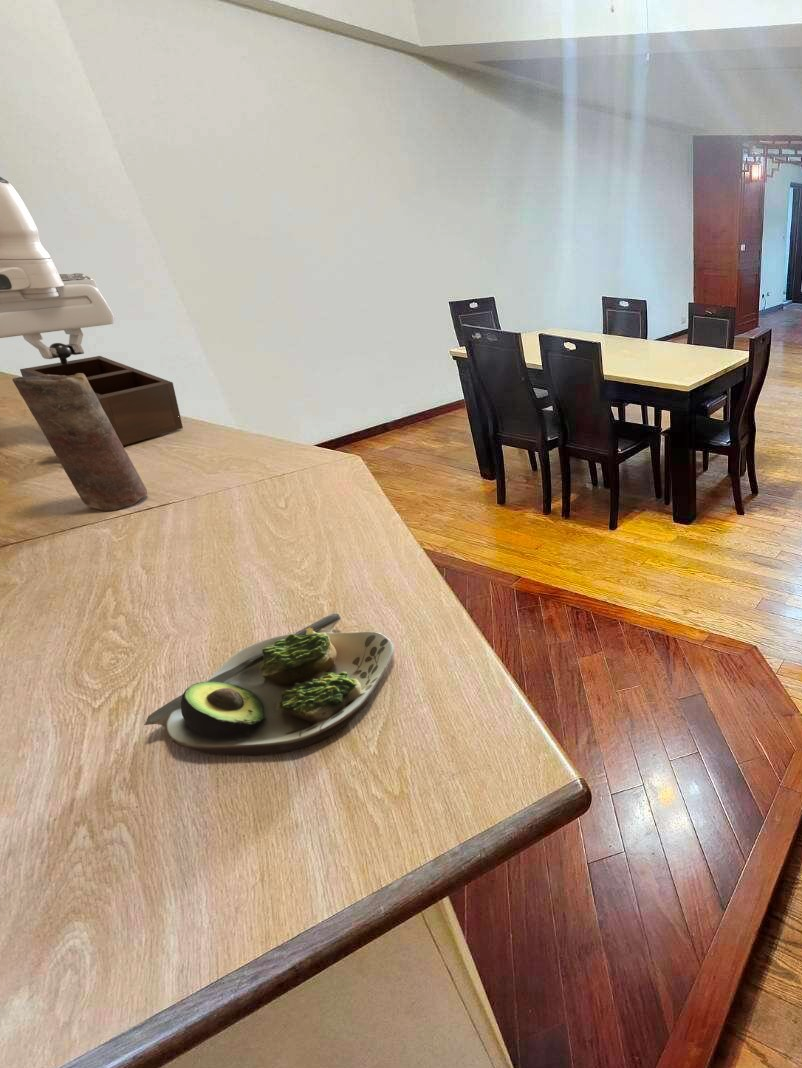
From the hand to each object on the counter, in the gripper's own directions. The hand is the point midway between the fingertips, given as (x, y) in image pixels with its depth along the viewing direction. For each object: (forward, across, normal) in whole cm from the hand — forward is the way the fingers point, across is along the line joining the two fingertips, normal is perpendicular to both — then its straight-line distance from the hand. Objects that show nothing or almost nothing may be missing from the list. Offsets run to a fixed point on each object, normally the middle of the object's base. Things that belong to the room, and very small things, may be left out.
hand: (64, 356), depth 112 cm
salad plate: (+15, +54, +97) cm, 112 cm away
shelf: (+13, 0, +4) cm, 13 cm away
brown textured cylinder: (+15, +24, +36) cm, 46 cm away
